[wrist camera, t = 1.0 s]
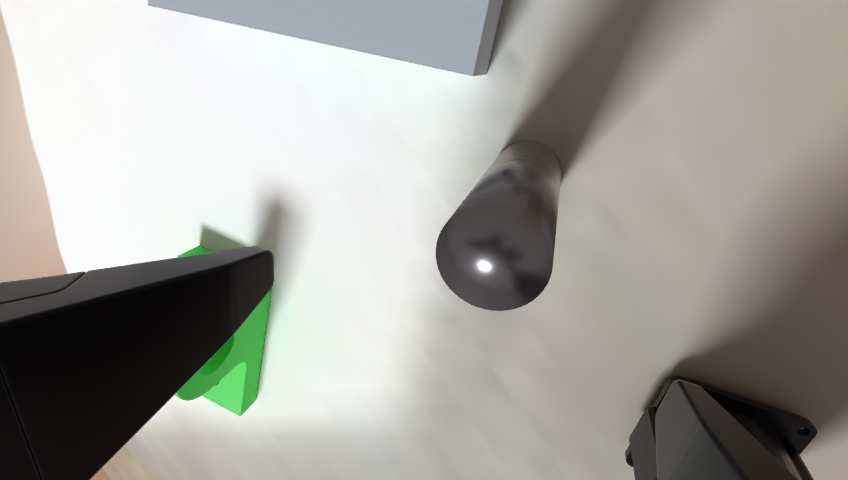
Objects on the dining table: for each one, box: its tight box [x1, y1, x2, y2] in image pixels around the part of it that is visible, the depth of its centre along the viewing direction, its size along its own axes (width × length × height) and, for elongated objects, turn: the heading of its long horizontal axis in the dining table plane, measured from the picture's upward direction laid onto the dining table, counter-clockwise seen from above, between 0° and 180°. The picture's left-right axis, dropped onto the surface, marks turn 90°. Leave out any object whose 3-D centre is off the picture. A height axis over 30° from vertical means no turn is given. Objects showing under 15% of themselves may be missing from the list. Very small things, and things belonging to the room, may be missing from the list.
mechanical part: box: [175, 246, 272, 416], centre depth 28 cm, size 12×6×8 cm, turn 163°
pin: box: [436, 141, 561, 311], centre depth 16 cm, size 3×3×10 cm
